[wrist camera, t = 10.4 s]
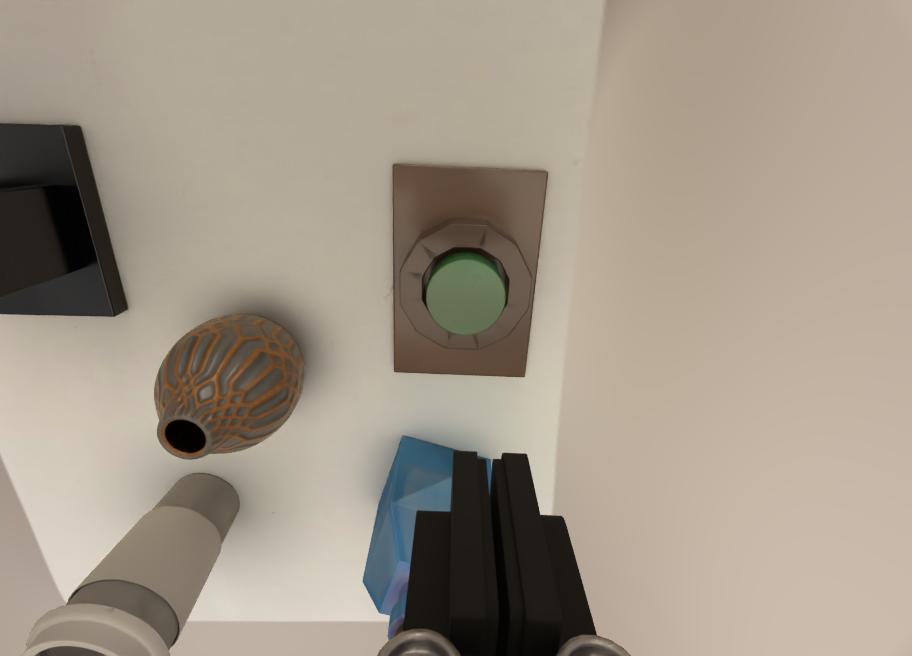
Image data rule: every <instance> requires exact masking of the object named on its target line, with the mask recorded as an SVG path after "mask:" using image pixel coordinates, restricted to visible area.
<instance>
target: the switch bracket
mask: <svg viewBox="0 0 912 656" xmlns="http://www.w3.org/2000/svg"><path fill="white" fill-rule="evenodd" d="M126 310H127V305H126V301H125V298H124V294H123V290H122V286H121V282H120V278H119V275H118V271H117V267H116V263H115V259H114V255H113V251H112V248H111V244H110V240H109V236H108V232H107V228H106V224H105V221H104V217H103V213H102V209H101V205H100V201H99V197H98V194H97V190H96V186H95V182H94V178H93V174H92V171H91V167H90V163H89V159H88V155H87V151H86V147H85V144H84V140H83V136H82V132H81V128H80V126H78V125H42V124H3V123H0V314H19V315H64V316H110V317H115V316H117V315H118V314H120V313H122V312H124V311H126Z"/></svg>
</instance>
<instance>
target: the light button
mask: <svg viewBox="0 0 912 656" xmlns="http://www.w3.org/2000/svg"><path fill="white" fill-rule="evenodd" d="M505 301H506V293H505V288H504V284H503V281H502V278H501V275H500V273H499V271H498V269H497V267H496V266H495V265H494V264H493V263H492V262H491V261H490V260H489V259H488V258H486V257H484V256H483V255H480V254H478V253H474V252H457V253H453V254H451V255H448V256H446V257H445V258H443V259H442V260H441V261H439V262H438V263H437V264H436V266H435V267H434V268H433V270H432V272H431V274H430V277H429V280H428V285H427V290H426V304H427V308H428V311H429V313H430V315H431V317H432V318H433V320H434V321H435V322H436V323H437V324H438V325H439V326H440V327H441V328H443V329H444V330H446V331H448V332H451V333H454V334H458V335H473V334H477V333H480V332H483V331H485V330H487V329H488V328H490V327H491V326H492V325H493V324H494V323H495V322H496V321H497V320H498V319H499V317H500V316H501V314H502V312H503V310H504V306H505Z"/></svg>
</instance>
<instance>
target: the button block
mask: <svg viewBox="0 0 912 656" xmlns="http://www.w3.org/2000/svg"><path fill="white" fill-rule="evenodd" d="M547 178H548V172H547V171H542V170H521V169H500V168H479V167H458V166H437V165H416V164H393V288H394V372H404V373H429V374H454V375H479V376H505V377H525V371H526V362H527V353H528V344H529V336H530V327H531V318H532V309H533V301H534V292H535V283H536V274H537V266H538V257H539V248H540V239H541V231H542V222H543V213H544V204H545V196H546V187H547ZM457 252H474V253H478V254H480V255H483V256H484V257H486V258H488V259H489V260H490V261H491V262H492V263H493V264H494V265H495V266H496V267H497V269H498V271H499V273H500V275H501V278H502V281H503V284H504V288H505V293H506V301H505V306H504V310H503V312H502V314H501V316H500V317H499V319H498V320H497V321H496V322H495V323H494V324H493V325H492V326H491V327H490V328H488V329H487V330H485V331H483V332H480V333H477V334H473V335H458V334H454V333H451V332H448V331H446V330H444V329H443V328H441V327H440V326H439V325H438V324H437V323H436V322H435V321H434V320H433V318H432V317H431V315H430V313H429V311H428V308H427V304H426V290H427V285H428V280H429V277H430V274H431V272H432V270H433V268H434V267H435V266H436V264H437V263H438V262H439V261H441V260H442V259H443V258H445V257H446V256H448V255H451V254H453V253H457Z"/></svg>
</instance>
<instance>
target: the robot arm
mask: <svg viewBox="0 0 912 656" xmlns="http://www.w3.org/2000/svg"><path fill="white" fill-rule="evenodd" d="M378 656H631V655H630V654H629V653H628V652H627V651H626V650H625V649H624V648H622V647H621V646H619V645H617V644H616V643H614V642H613V641H611V640H609V639H606V638H603V637H600V636H597V634H596V631H595V627H594V623H593V619H592V616H591V613H590V609H589V605H588V602H587V598H586V594H585V591H584V587H583V584H582V580H581V576H580V573H579V569H578V566H577V562H576V559H575V555H574V551H573V548H572V545H571V541H570V537H569V533H568V530H567V526H566V523H565V520H564V518H563V517H562V516H551V515H540V511H539V507H538V502H537V498H536V493H535V488H534V484H533V479H532V475H531V470H530V465H529V461H528V457H527V454H517V453H502V456H501V459H493V462H492V473H491V484H490V495H489V486H488V474H487V462H486V459H480V458H477V452H468V451H453V466H452V486H451V505H450V511H424V510H417V512H416V519H415V528H414V537H413V546H412V554H411V563H410V572H409V581H408V589H407V598H406V607H405V616H404V624H403V632H401V633H399V634H398V635H396V636H395V637H393V638H392V639H390V640H389V641H388V642H387V643H386V644H385V646H383V648H382V649H381V650H380V651H379V653H378Z"/></svg>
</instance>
